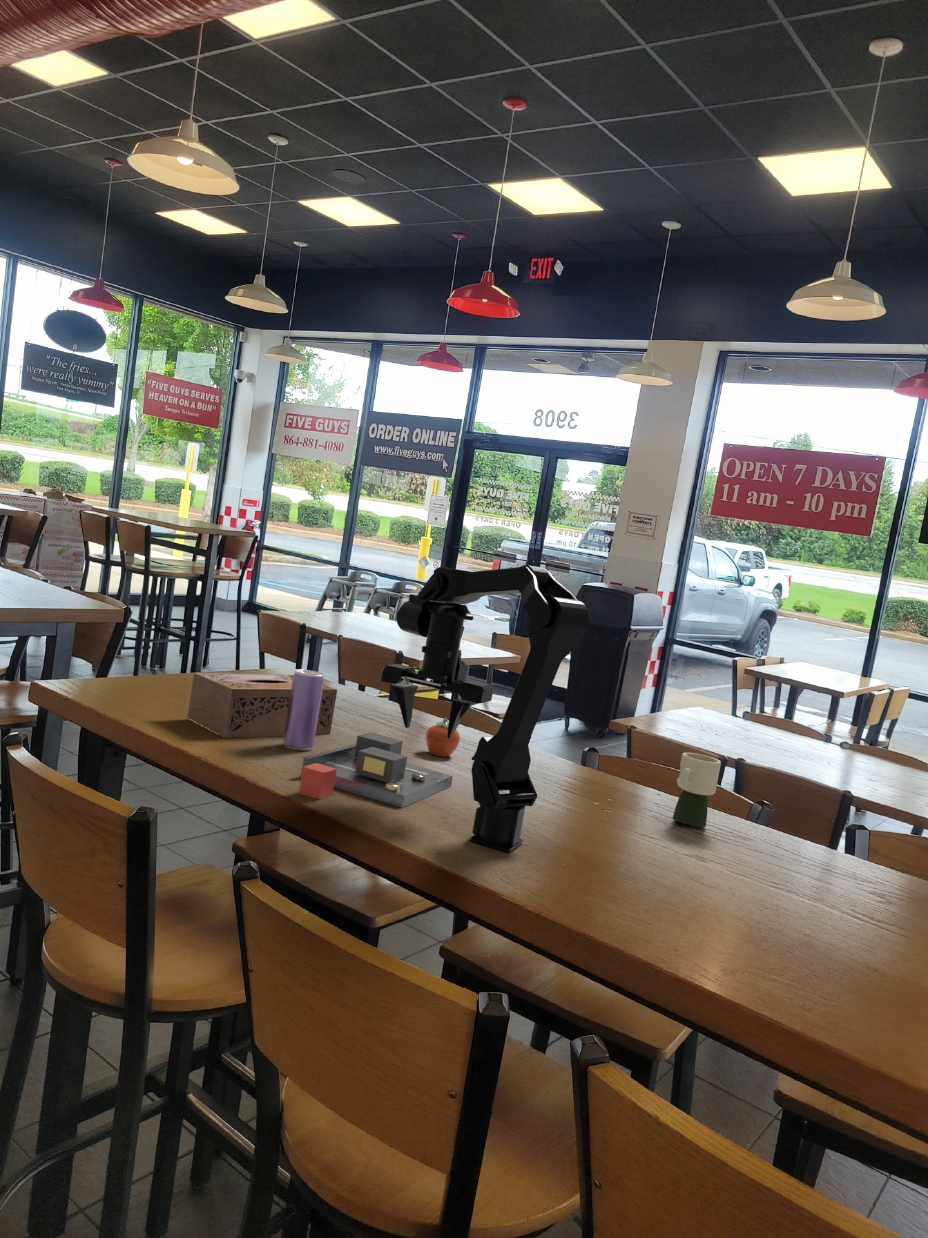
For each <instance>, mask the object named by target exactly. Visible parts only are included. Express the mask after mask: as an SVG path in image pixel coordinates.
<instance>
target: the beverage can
mask: <svg viewBox="0 0 928 1238" xmlns="http://www.w3.org/2000/svg"><path fill="white" fill-rule="evenodd" d="M293 675H294V676H293V681H292V687H291V693H290V700H289V706H288V712H287V718H286V725H285V731H284V736H282V737H283V738H282V743H283V747H284V748H286V749H288V748H289V749H288V750H292V751H297V750H298V751H299V752H309V751H310V750H312V749H313V747H314V745H315V738H316V735H315V733H316V727H317V720H318V714H319V708H320V702H321V696H322V690H323V685H324V682H325V679H324V676H325V675H324V673H322V672H320V671H315V670H309V669H295V670H294V674H293ZM298 751H297V752H298Z"/></svg>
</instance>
